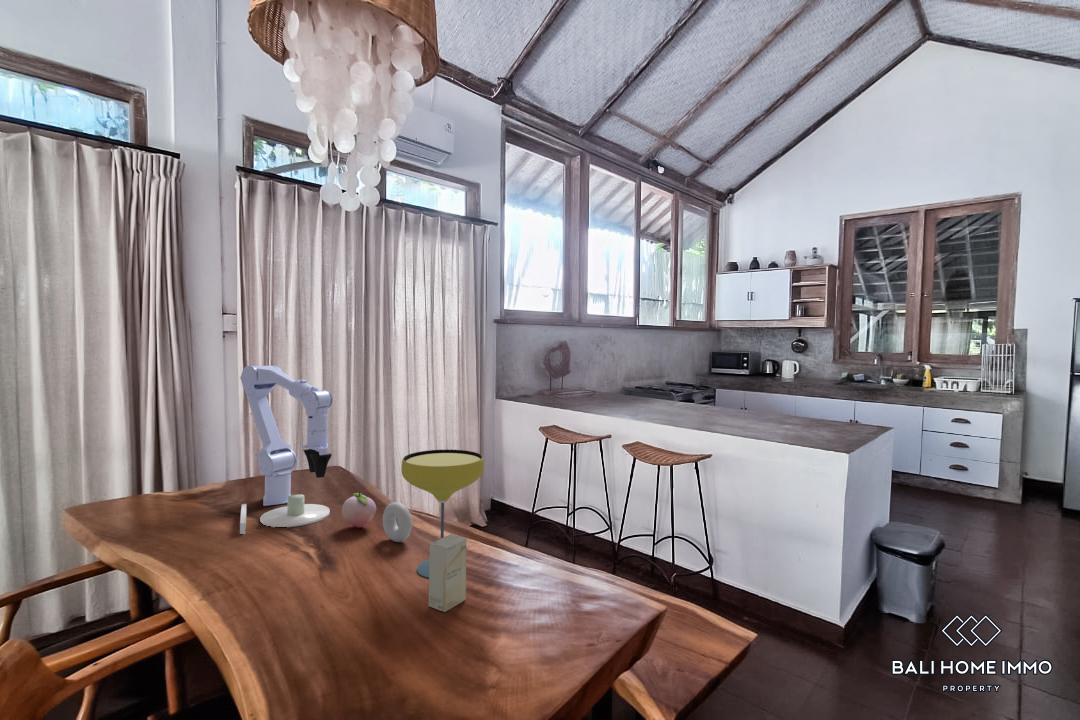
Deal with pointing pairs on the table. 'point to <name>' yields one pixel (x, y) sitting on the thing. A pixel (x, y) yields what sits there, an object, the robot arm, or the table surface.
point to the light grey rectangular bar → (243, 519)
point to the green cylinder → (295, 505)
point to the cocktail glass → (441, 477)
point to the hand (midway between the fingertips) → (317, 474)
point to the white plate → (283, 520)
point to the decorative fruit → (358, 510)
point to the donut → (390, 524)
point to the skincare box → (447, 572)
